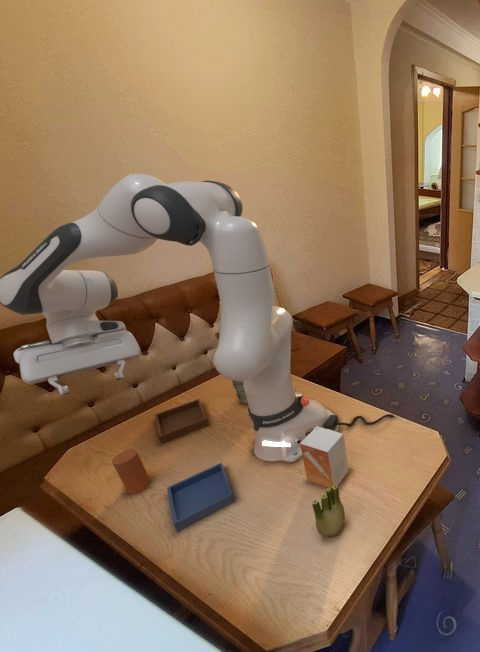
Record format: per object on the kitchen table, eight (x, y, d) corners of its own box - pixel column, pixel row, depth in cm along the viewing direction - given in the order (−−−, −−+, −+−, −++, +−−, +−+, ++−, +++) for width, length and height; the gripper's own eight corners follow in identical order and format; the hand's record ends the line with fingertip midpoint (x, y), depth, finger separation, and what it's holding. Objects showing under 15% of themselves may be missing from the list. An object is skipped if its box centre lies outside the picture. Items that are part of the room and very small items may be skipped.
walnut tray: (201, 404, 115) (199, 398, 114) (208, 425, 107) (206, 418, 106) (157, 420, 108) (154, 414, 107) (161, 443, 100) (158, 437, 99)
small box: (307, 482, 90) (298, 443, 85) (323, 462, 96) (316, 425, 90) (334, 491, 88) (327, 452, 83) (349, 470, 93) (344, 433, 88)
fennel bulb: (319, 544, 76) (311, 506, 71) (318, 523, 80) (310, 486, 75) (347, 534, 78) (341, 496, 73) (345, 514, 82) (339, 477, 78)
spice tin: (149, 475, 91) (136, 446, 87) (151, 486, 88) (137, 457, 84) (126, 485, 88) (111, 455, 84) (127, 497, 85) (111, 467, 81)
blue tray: (224, 469, 93) (221, 462, 92) (235, 501, 85) (232, 493, 84) (170, 494, 86) (167, 487, 85) (177, 532, 78) (173, 524, 77)
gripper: (7, 343, 79) (24, 402, 77) (130, 320, 93) (147, 368, 92) (14, 351, 83) (31, 406, 82) (131, 327, 97) (147, 374, 96)
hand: (93, 386), depth 87 cm, fingers open, 8 cm apart
